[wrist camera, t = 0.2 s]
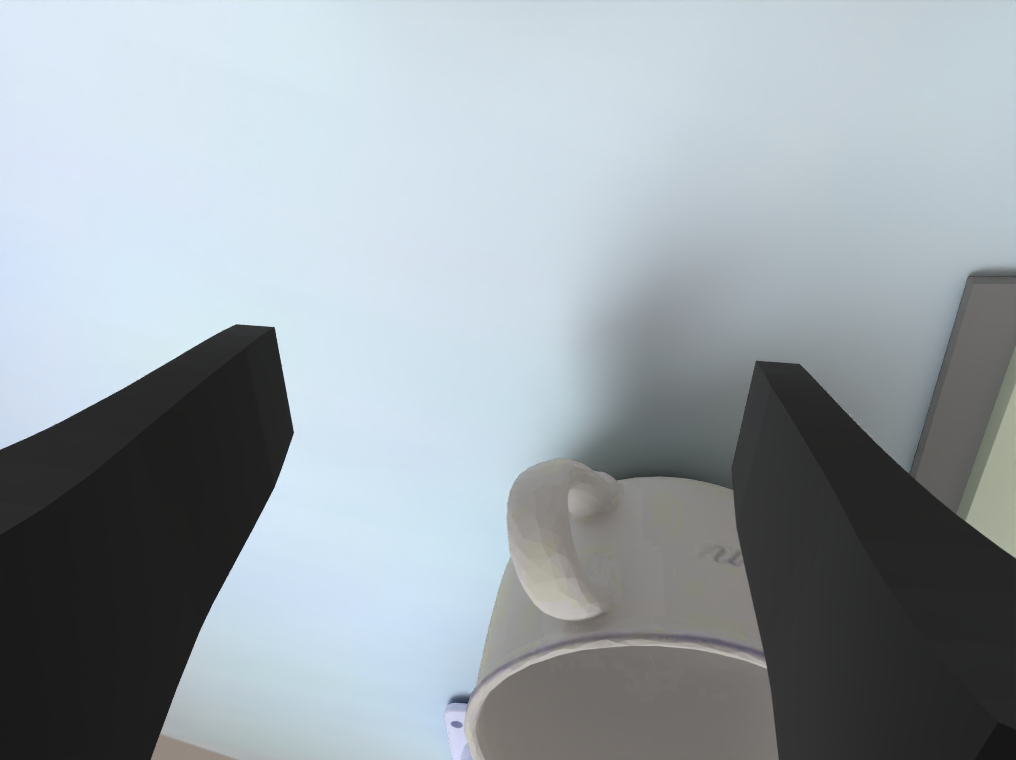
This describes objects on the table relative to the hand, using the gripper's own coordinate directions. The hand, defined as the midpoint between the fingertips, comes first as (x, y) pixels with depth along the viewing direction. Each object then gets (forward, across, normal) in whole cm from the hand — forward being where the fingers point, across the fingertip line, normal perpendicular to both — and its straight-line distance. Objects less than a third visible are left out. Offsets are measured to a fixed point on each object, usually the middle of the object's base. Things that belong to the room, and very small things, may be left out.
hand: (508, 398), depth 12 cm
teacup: (+10, -4, +12) cm, 16 cm away
